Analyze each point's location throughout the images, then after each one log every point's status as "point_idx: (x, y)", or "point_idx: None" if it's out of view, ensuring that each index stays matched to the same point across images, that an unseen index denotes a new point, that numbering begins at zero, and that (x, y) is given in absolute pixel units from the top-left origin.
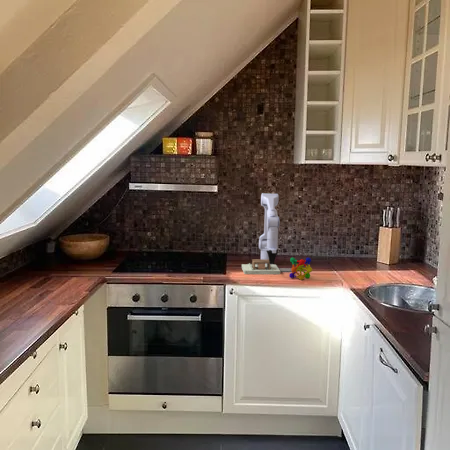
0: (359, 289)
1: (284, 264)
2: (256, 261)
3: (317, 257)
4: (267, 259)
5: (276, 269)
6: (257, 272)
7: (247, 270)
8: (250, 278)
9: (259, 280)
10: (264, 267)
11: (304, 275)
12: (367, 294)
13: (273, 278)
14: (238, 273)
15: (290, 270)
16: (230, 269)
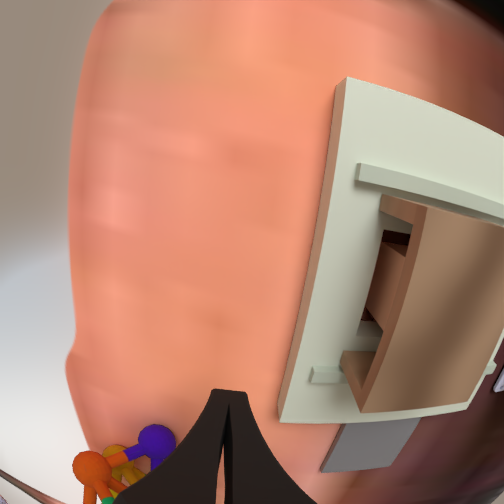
0: (44, 499)
1: (483, 432)
2: (442, 255)
3: (481, 500)
4: (470, 392)
5: (334, 406)
6: (321, 219)
7: (351, 110)
8: (153, 103)
9: (79, 177)
10: (384, 323)
11: (113, 476)
12: (6, 480)
13: (143, 318)
14: (369, 44)
15: (342, 463)
16: (490, 51)
